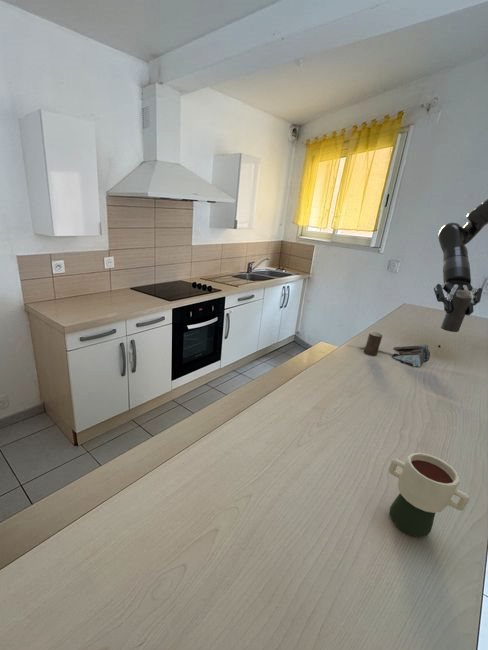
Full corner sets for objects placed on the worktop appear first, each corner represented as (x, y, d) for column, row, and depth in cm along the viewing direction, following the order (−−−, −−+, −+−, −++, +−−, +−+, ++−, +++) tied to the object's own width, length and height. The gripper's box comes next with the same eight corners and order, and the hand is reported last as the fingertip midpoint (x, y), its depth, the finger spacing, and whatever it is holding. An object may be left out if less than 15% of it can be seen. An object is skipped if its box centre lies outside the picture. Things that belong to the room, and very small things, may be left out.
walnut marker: (376, 352, 125) (382, 333, 122) (376, 356, 121) (382, 337, 118) (363, 349, 127) (369, 331, 124) (363, 354, 123) (369, 334, 120)
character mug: (448, 531, 56) (478, 476, 51) (440, 559, 52) (472, 502, 47) (381, 492, 63) (401, 440, 58) (368, 514, 59) (389, 459, 54)
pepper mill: (456, 328, 115) (471, 290, 110) (460, 333, 111) (476, 294, 106) (439, 325, 118) (453, 288, 112) (442, 330, 113) (456, 291, 108)
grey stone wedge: (383, 358, 122) (414, 347, 111) (390, 348, 125) (420, 337, 115) (400, 378, 121) (432, 369, 111) (406, 367, 125) (438, 358, 114)
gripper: (438, 263, 115) (440, 305, 109) (486, 267, 111) (491, 311, 105) (428, 275, 121) (429, 315, 115) (473, 279, 118) (476, 321, 112)
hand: (458, 313), depth 110 cm, fingers closed on pepper mill, 5 cm apart
